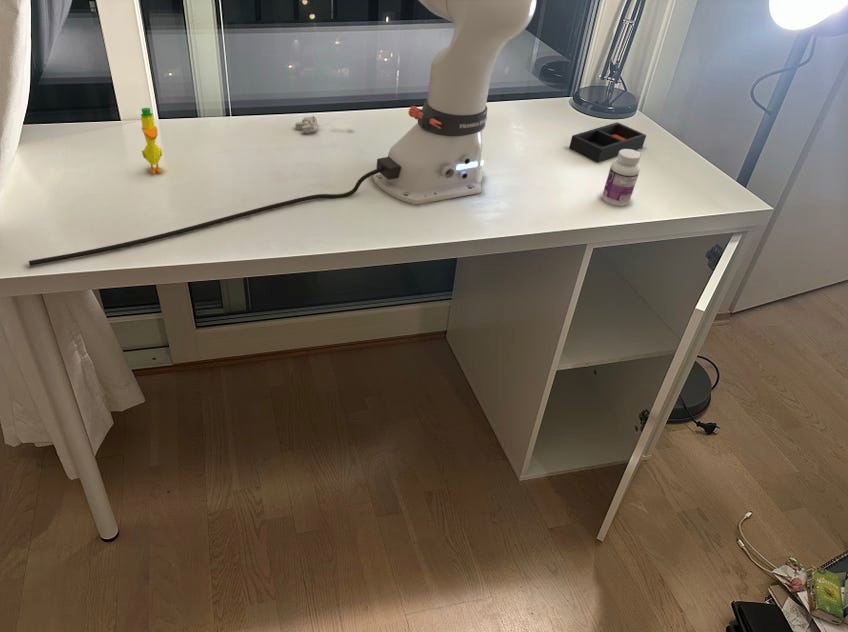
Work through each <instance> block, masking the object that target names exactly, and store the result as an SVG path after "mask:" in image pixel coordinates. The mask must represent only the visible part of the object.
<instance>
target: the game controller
mask: <svg viewBox="0 0 848 632" xmlns="http://www.w3.org/2000/svg"><path fill="white" fill-rule="evenodd" d="M294 125H295V129H296V130H302V133H303V134H307V133H312V132H315V131H316V130H317V129H318V127H320V125H319V124H318V119H317V117H316V116H314V115H312V116H305V117H303V118H302V119H301V121H298V122H297V121H296V122H295V123H294ZM323 125H328V126H329V124H328V123H327V124H326V123H324V124H321V127H323ZM334 129H335V130H337V128H334ZM347 129H348V130H350V128H348V127H347Z"/></svg>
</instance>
